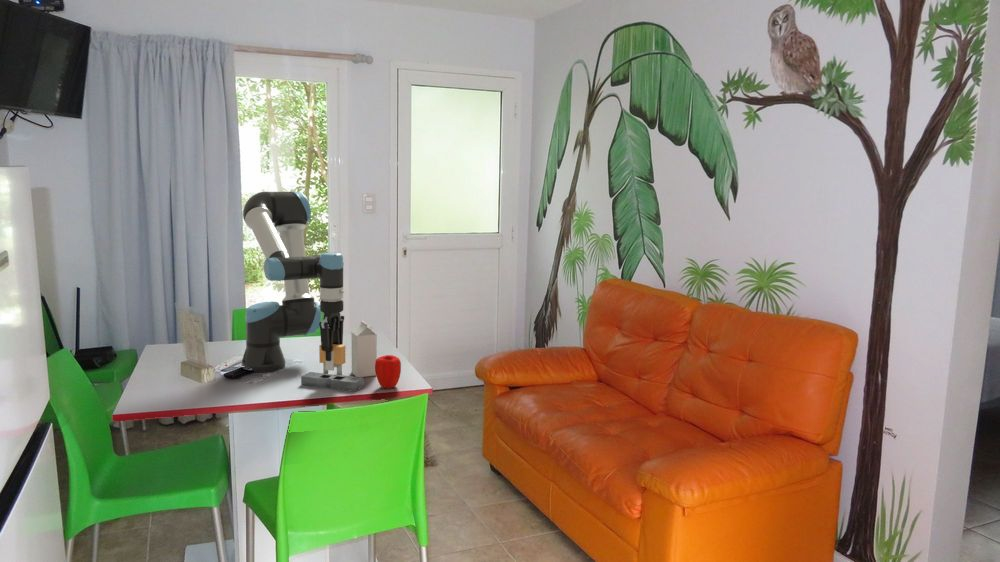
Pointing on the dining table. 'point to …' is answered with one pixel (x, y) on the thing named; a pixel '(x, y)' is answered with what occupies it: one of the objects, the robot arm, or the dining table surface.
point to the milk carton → (364, 350)
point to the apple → (388, 370)
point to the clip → (338, 358)
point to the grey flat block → (332, 381)
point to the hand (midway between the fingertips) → (332, 368)
